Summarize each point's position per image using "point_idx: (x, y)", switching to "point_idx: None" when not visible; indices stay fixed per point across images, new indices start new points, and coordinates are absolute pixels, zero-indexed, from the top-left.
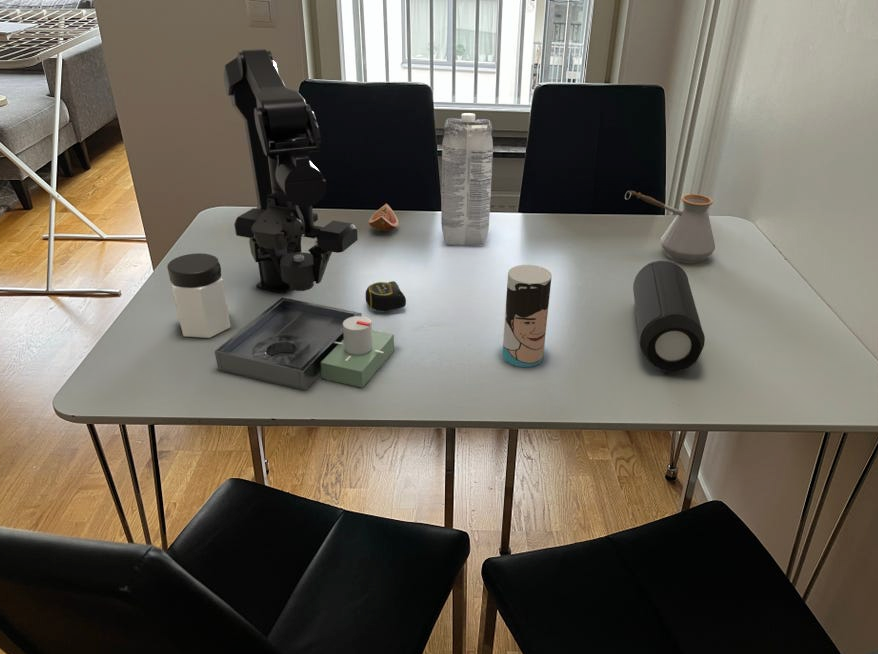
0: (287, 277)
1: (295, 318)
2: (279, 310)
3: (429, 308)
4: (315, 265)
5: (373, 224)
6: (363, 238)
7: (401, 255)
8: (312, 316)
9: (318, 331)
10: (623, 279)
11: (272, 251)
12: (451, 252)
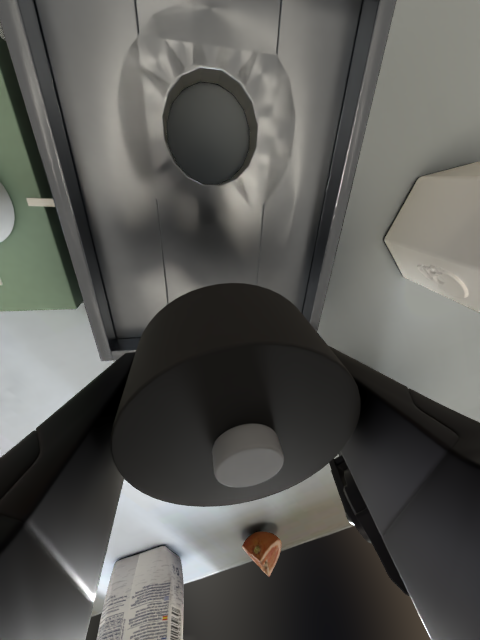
0: (259, 300)
1: None
2: (302, 313)
3: None
4: (60, 438)
5: (269, 540)
6: (274, 513)
7: (205, 510)
8: None
9: (170, 267)
10: None
11: (455, 439)
12: (145, 538)
